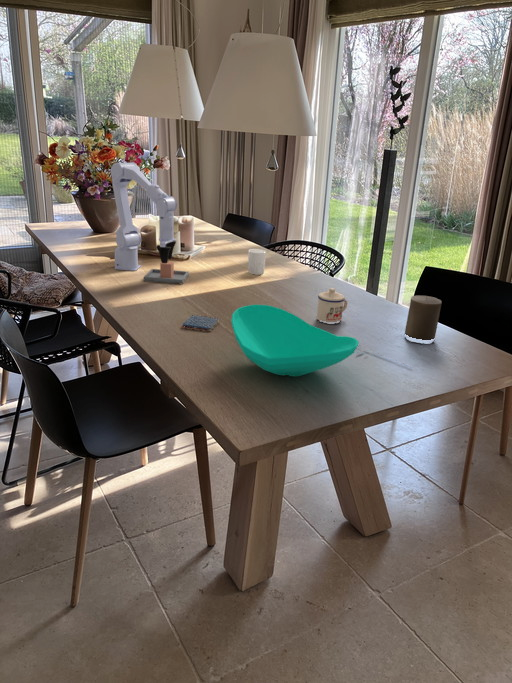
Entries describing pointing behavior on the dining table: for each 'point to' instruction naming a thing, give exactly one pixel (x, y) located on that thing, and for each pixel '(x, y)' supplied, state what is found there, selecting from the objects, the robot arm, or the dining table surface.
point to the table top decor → (287, 341)
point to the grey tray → (177, 278)
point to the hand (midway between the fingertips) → (166, 260)
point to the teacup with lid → (331, 306)
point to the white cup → (256, 261)
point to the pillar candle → (423, 317)
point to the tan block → (167, 270)
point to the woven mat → (200, 323)
